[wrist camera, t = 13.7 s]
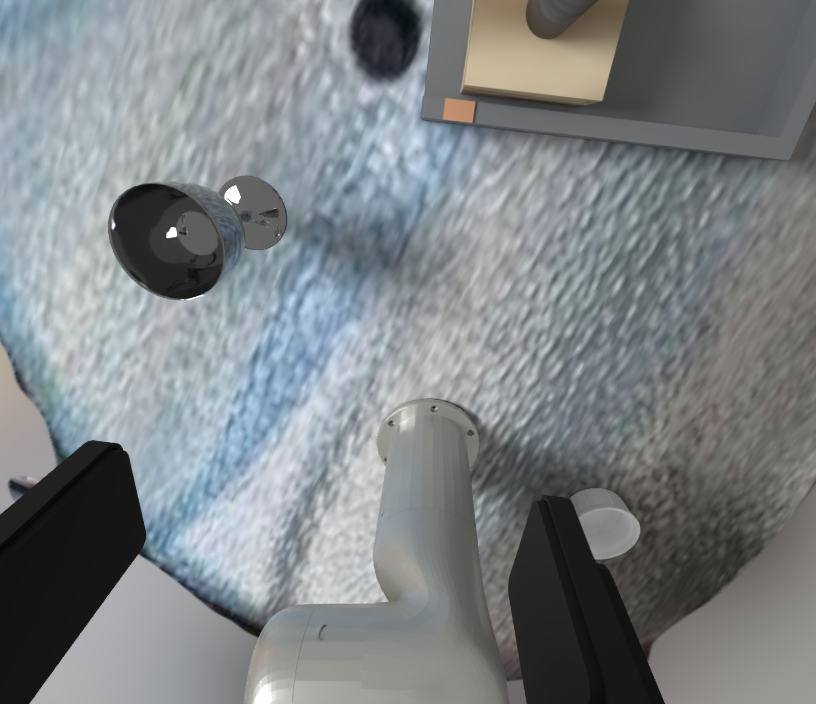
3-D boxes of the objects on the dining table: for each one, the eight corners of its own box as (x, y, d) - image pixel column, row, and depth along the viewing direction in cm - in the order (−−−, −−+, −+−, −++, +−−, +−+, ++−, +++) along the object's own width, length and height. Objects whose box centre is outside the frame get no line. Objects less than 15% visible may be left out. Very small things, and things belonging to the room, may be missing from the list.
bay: (755, 159, 38) (790, 160, 34) (422, 119, 38) (420, 116, 34) (841, -45, 32) (895, -71, 28) (444, -91, 32) (445, -122, 28)
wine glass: (197, 216, 43) (88, 248, 30) (238, 152, 40) (140, 154, 27) (262, 269, 45) (188, 321, 32) (306, 211, 42) (246, 242, 29)
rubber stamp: (577, 108, 36) (652, 87, 24) (460, 94, 36) (473, 66, 24) (612, -40, 32) (728, -160, 19) (480, -55, 32) (510, -185, 20)
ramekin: (594, 472, 54) (606, 497, 50) (641, 506, 56) (656, 532, 52) (543, 511, 58) (551, 538, 54) (589, 542, 60) (600, 569, 56)
